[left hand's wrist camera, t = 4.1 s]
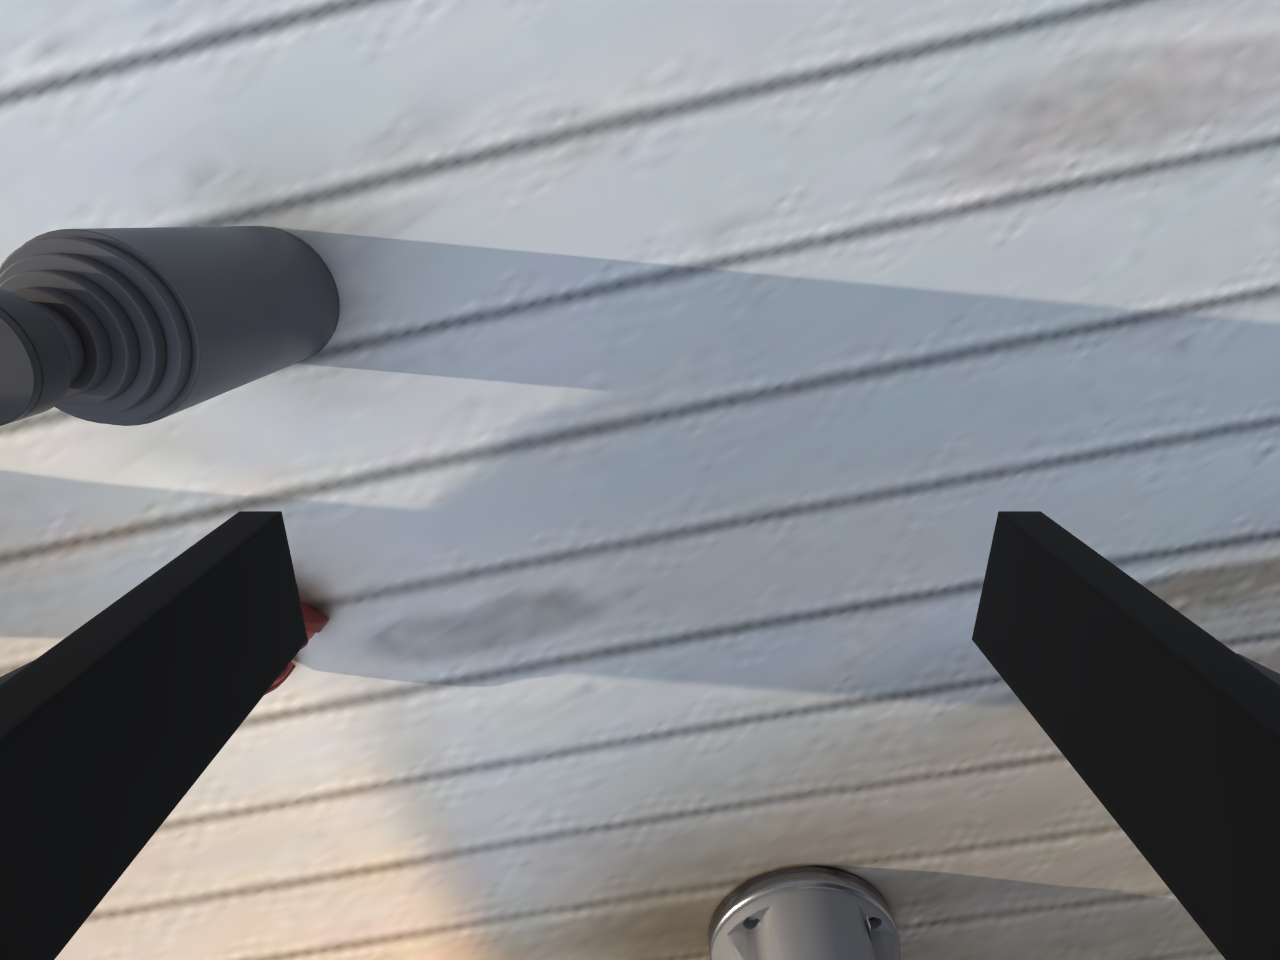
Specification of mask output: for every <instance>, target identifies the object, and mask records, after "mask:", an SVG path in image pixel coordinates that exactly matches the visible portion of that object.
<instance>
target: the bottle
mask: <svg viewBox="0 0 1280 960" xmlns="http://www.w3.org/2000/svg"><path fill="white" fill-rule="evenodd" d="M0 288H1V289H4V290H7V291H10V292H13V293H15V294H17V295H19V296H21V297H23V298H25V299H27V300H28V301H30V302H31V303H32V304H34V305H35V306H36V307H38V308H39V309H40V310H41V311H42V312H43V313H44V314H45V315H46V316H47V317H48V318H49V319H50V320H51V321H52V322H53V323H54V325H55V326H56V327H57V329H58V330H59V332H60V334H61V335H62V337H63V339H64V341H65V343H66V345H67V348H68V350H69V353H70V358H71V365H72V377H71V383H70V386H69V388H68V391H67V393H66V394H65V396H64V397H63V399H62V400H61V401H60V402H59V403H58V404H57V405H55V406H54V407H56V408H58V409H59V410H61V411H63V412H65V413H68V414H70V415H72V416H74V417H77V418H81V419H84V420H87V421H92V422H97V423H105V424H112V425H123V426H130V425H141V424H147V423H151V422H154V421H157V420H160V419H162V418H165V417H167V416H169V415H172V414H174V413H177V412H179V411H181V410H184V409H186V408H189V407H191V406H194V405H196V404H198V403H201V402H203V401H206V400H208V399H210V398H213V397H215V396H218V395H220V394H222V393H225V392H227V391H230V390H232V389H235V388H237V387H239V386H242V385H244V384H247V383H249V382H251V381H254V380H256V379H259V378H261V377H263V376H266V375H268V374H271V373H273V372H276V371H278V370H280V369H283V368H285V367H288V366H290V365H292V364H295V363H297V362H300V361H302V360H304V359H307V358H309V357H311V356H313V355H315V354H316V353H317V352H319V351H320V350H321V349H322V348H323V347H324V346H325V345H326V344H327V343H328V341H329V340H330V339H331V337H332V335H333V333H334V331H335V328H336V325H337V321H338V316H339V299H338V294H337V289H336V286H335V283H334V280H333V278H332V276H331V273H330V271H329V270H328V268H327V266H326V265H325V263H324V262H323V261H322V259H321V258H320V257H319V255H318V254H317V253H316V252H315V251H314V250H313V249H312V248H311V247H309V246H308V245H307V244H306V243H305V242H303V241H302V240H300V239H299V238H297V237H296V236H294V235H292V234H290V233H288V232H285V231H282V230H279V229H276V228H271V227H264V226H237V227H170V228H104V229H63V230H56V231H51V232H47V233H45V234H42V235H39V236H37V237H35V238H33V239H32V240H30V241H28V242H26V243H25V244H24V245H23V246H22V247H20V248H19V249H17V250H16V251H14V252H13V253H12V254H11V255H10V256H9V257H7V259H6V260H5V261H4V262H3V263H2V265H1V266H0Z"/></svg>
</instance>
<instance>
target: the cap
mask: <svg viewBox="0 0 1280 960" xmlns="http://www.w3.org/2000/svg"><path fill="white" fill-rule="evenodd" d="M71 377H72V365H71V358H70V353H69V350H68V348H67V345H66V343H65V341H64V339H63V337H62V335H61V334H60V332H59V330H58V329H57V327H56V326H55V325H54V323H53V322H52V321H51V320H50V319H49V318H48V317H47V316H46V315H45V314H44V313H43V312H42V311H41V310H40V309H39V308H38V307H36V306H35V305H34V304H32V303H31V302H30V301H28V300H27V299H25V298H23V297H21V296H19V295H17V294H15V293H13V292H10V291H7V290H4V289H1V288H0V426H2V425H5V424H8V423H11V422H14V421H17V420H21V419H24V418H27V417H30V416H33V415H36V414H39V413H42V412H45V411H47V410H49V409H51V408H53V407H54V406H55V405H57V404H58V403H59V402H60V401H61V400H62V399H63V397H64V396H65V394H66V393H67V391H68V388H69V386H70V383H71Z"/></svg>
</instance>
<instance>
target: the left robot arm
mask: <svg viewBox="0 0 1280 960" xmlns="http://www.w3.org/2000/svg"><path fill="white" fill-rule="evenodd" d="M307 640H308V637H307V632H306V627H305V622H304V618H303V613H302V608H301V603H300V598H299V594H298V589H297V584H296V579H295V574H294V570H293V565H292V560H291V555H290V550H289V546H288V541H287V536H286V531H285V526H284V522H283V517H282V512H238V513H237V514H235V515H234V516H233V517H231V518H230V519H229V520H227V521H226V522H224V523H223V524H222V525H220V526H219V527H218V528H216V529H215V530H213V531H212V532H211V533H209V534H208V535H207V536H205V537H204V538H202V539H201V540H200V541H198V542H197V543H196V544H194V545H193V546H191V547H190V548H189V549H187V550H186V551H185V552H183V553H182V554H180V555H179V556H178V557H176V558H175V559H174V560H172V561H171V562H169V563H168V564H167V565H165V566H164V567H163V568H161V569H160V570H158V571H157V572H156V573H154V574H153V575H152V576H150V577H149V578H147V579H146V580H145V581H143V582H142V583H141V584H139V585H138V586H136V587H135V588H134V589H132V590H131V591H130V592H128V593H127V594H125V595H124V596H123V597H121V598H120V599H119V600H117V601H116V602H114V603H113V604H112V605H110V606H109V607H108V608H106V609H105V610H103V611H102V612H101V613H99V614H98V615H97V616H95V617H94V618H92V619H91V620H90V621H88V622H87V623H86V624H84V625H83V626H81V627H80V628H79V629H77V630H76V631H75V632H73V633H72V634H70V635H69V636H68V637H66V638H65V639H64V640H62V641H61V642H59V643H58V644H57V645H55V646H54V647H53V648H51V649H50V650H48V651H47V652H46V653H44V654H43V655H42V656H40V657H39V658H37V659H36V660H34V661H32V662H30V663H28V664H26V665H24V666H22V667H20V668H18V669H16V670H14V671H12V672H10V673H8V674H6V675H4V676H2V677H0V960H54V959H55V958H56V957H57V956H58V954H59V953H60V952H61V950H62V949H63V948H64V947H65V945H66V944H67V943H68V942H69V940H70V939H71V938H72V937H73V935H74V934H75V933H76V932H77V930H78V929H79V928H80V927H81V925H82V924H83V923H84V921H85V920H86V919H87V918H88V916H89V915H90V914H91V913H92V911H93V910H94V909H95V908H96V906H97V905H98V904H99V903H100V901H101V900H102V899H103V897H104V896H105V895H106V894H107V892H108V891H109V890H110V889H111V887H112V886H113V885H114V884H115V882H116V881H117V880H118V879H119V877H120V876H121V875H122V873H123V872H124V871H125V870H126V868H127V867H128V866H129V865H130V863H131V862H132V861H133V860H134V858H135V857H136V856H137V855H138V853H139V852H140V851H141V850H142V848H143V847H144V846H145V844H146V843H147V842H148V841H149V839H150V838H151V837H152V836H153V834H154V833H155V832H156V831H157V829H158V828H159V827H160V826H161V824H162V823H163V822H164V820H165V819H166V818H167V817H168V815H169V814H170V813H171V812H172V810H173V809H174V808H175V807H176V805H177V804H178V803H179V802H180V800H181V799H182V798H183V797H184V795H185V794H186V793H187V791H188V790H189V789H190V788H191V786H192V785H193V784H194V783H195V781H196V780H197V779H198V778H199V776H200V775H201V774H202V773H203V771H204V770H205V769H206V767H207V766H208V765H209V764H210V762H211V761H212V760H213V759H214V757H215V756H216V755H217V754H218V752H219V751H220V750H221V749H222V747H223V746H224V745H225V744H226V742H227V741H228V740H229V738H230V737H231V736H232V735H233V733H234V732H235V731H236V730H237V728H238V727H239V726H240V725H241V723H242V722H243V721H244V720H245V718H246V717H247V716H248V714H249V713H250V712H251V711H252V709H253V708H254V707H255V706H256V704H257V703H258V702H259V701H260V699H261V698H262V697H263V696H264V694H265V693H266V692H267V691H268V689H269V688H270V687H271V685H272V684H273V683H274V682H275V680H276V679H277V678H278V677H279V675H280V674H281V673H282V672H283V670H284V669H285V668H286V667H287V665H288V664H289V663H290V661H291V660H292V659H293V658H294V656H295V655H296V654H297V653H298V651H299V650H300V649H301V648H302V646H303V645H304V644H305V643H306V641H307ZM972 640H973V641H974V643H975V644H976V645H977V646H978V648H979V649H980V650H981V651H982V653H983V654H984V655H985V656H986V658H987V659H988V660H989V661H990V663H991V664H992V665H993V667H994V668H995V669H996V670H997V672H998V673H999V674H1000V675H1001V677H1002V678H1003V679H1004V680H1005V682H1006V683H1007V684H1008V685H1009V687H1010V688H1011V689H1012V691H1013V692H1014V693H1015V694H1016V696H1017V697H1018V698H1019V699H1020V701H1021V702H1022V703H1023V704H1024V706H1025V707H1026V708H1027V709H1028V711H1029V712H1030V713H1031V714H1032V716H1033V717H1034V718H1035V720H1036V721H1037V722H1038V723H1039V725H1040V726H1041V727H1042V728H1043V730H1044V731H1045V732H1046V733H1047V735H1048V736H1049V737H1050V738H1051V740H1052V741H1053V742H1054V744H1055V745H1056V746H1057V747H1058V749H1059V750H1060V751H1061V752H1062V754H1063V755H1064V756H1065V757H1066V759H1067V760H1068V761H1069V762H1070V764H1071V765H1072V766H1073V767H1074V769H1075V770H1076V771H1077V773H1078V774H1079V775H1080V776H1081V778H1082V779H1083V780H1084V781H1085V783H1086V784H1087V785H1088V786H1089V788H1090V789H1091V790H1092V791H1093V793H1094V794H1095V795H1096V797H1097V798H1098V799H1099V800H1100V802H1101V803H1102V804H1103V805H1104V807H1105V808H1106V809H1107V810H1108V812H1109V813H1110V814H1111V815H1112V817H1113V818H1114V819H1115V820H1116V822H1117V823H1118V824H1119V826H1120V827H1121V828H1122V829H1123V831H1124V832H1125V833H1126V834H1127V836H1128V837H1129V838H1130V839H1131V841H1132V842H1133V843H1134V844H1135V846H1136V847H1137V848H1138V850H1139V851H1140V852H1141V853H1142V855H1143V856H1144V857H1145V858H1146V860H1147V861H1148V862H1149V863H1150V865H1151V866H1152V867H1153V868H1154V870H1155V871H1156V872H1157V873H1158V875H1159V876H1160V877H1161V879H1162V880H1163V881H1164V882H1165V884H1166V885H1167V886H1168V887H1169V889H1170V890H1171V891H1172V892H1173V894H1174V895H1175V896H1176V897H1177V899H1178V900H1179V901H1180V903H1181V904H1182V905H1183V906H1184V908H1185V909H1186V910H1187V911H1188V913H1189V914H1190V915H1191V916H1192V918H1193V919H1194V920H1195V921H1196V923H1197V924H1198V925H1199V927H1200V928H1201V929H1202V930H1203V932H1204V933H1205V934H1206V935H1207V937H1208V938H1209V939H1210V940H1211V942H1212V943H1213V944H1214V945H1215V947H1216V948H1217V949H1218V950H1219V952H1220V953H1221V954H1222V956H1223V957H1224V958H1225V959H1226V960H1280V674H1278V673H1276V672H1274V671H1272V670H1270V669H1268V668H1266V667H1264V666H1262V665H1260V664H1258V663H1256V662H1254V661H1252V660H1250V659H1248V658H1246V657H1244V656H1242V655H1240V654H1236V653H1234V652H1233V651H1232V650H1230V649H1229V648H1227V647H1226V646H1225V645H1223V644H1222V643H1221V642H1219V641H1218V640H1216V639H1215V638H1214V637H1212V636H1211V635H1210V634H1208V633H1207V632H1205V631H1204V630H1203V629H1201V628H1200V627H1199V626H1197V625H1196V624H1194V623H1193V622H1192V621H1190V620H1189V619H1188V618H1186V617H1185V616H1183V615H1182V614H1181V613H1179V612H1178V611H1177V610H1175V609H1174V608H1172V607H1171V606H1170V605H1168V604H1167V603H1166V602H1164V601H1163V600H1161V599H1160V598H1159V597H1157V596H1156V595H1155V594H1153V593H1152V592H1150V591H1149V590H1148V589H1146V588H1145V587H1144V586H1142V585H1141V584H1139V583H1138V582H1137V581H1135V580H1134V579H1133V578H1131V577H1130V576H1128V575H1127V574H1126V573H1124V572H1123V571H1122V570H1120V569H1119V568H1117V567H1116V566H1115V565H1113V564H1112V563H1111V562H1109V561H1108V560H1106V559H1105V558H1104V557H1102V556H1101V555H1100V554H1098V553H1097V552H1095V551H1094V550H1093V549H1091V548H1090V547H1089V546H1087V545H1086V544H1084V543H1083V542H1082V541H1080V540H1079V539H1078V538H1076V537H1075V536H1073V535H1072V534H1071V533H1069V532H1068V531H1067V530H1065V529H1064V528H1062V527H1061V526H1060V525H1058V524H1057V523H1056V522H1054V521H1053V520H1051V519H1050V518H1049V517H1047V516H1046V515H1045V514H1043V513H1042V512H998V517H997V522H996V526H995V531H994V536H993V541H992V546H991V550H990V555H989V560H988V565H987V570H986V574H985V579H984V584H983V589H982V594H981V598H980V603H979V608H978V613H977V618H976V622H975V627H974V632H973V637H972ZM709 948H710V959H711V960H900V939H899V935H898V932H897V929H896V926H895V923H894V920H893V918H892V915H891V912H890V909H889V907H888V905H887V903H886V901H885V900H884V898H883V897H882V896H881V895H880V894H879V892H878V891H877V890H875V889H874V888H873V887H872V886H871V885H869V884H868V883H866V882H865V881H863V880H861V879H860V878H857V877H855V876H853V875H851V874H848V873H845V872H841V871H838V870H833V869H828V868H819V867H797V868H788V869H783V870H778V871H774V872H770V873H767V874H764V875H761V876H759V877H757V878H754V879H752V880H750V881H748V882H746V883H745V884H743V885H741V886H740V887H738V888H737V889H736V890H734V891H733V892H732V893H731V894H730V895H728V896H727V897H726V898H725V899H724V901H723V902H722V903H721V904H720V905H719V907H718V908H717V910H716V911H715V913H714V915H713V917H712V920H711V923H710V927H709Z"/></svg>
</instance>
